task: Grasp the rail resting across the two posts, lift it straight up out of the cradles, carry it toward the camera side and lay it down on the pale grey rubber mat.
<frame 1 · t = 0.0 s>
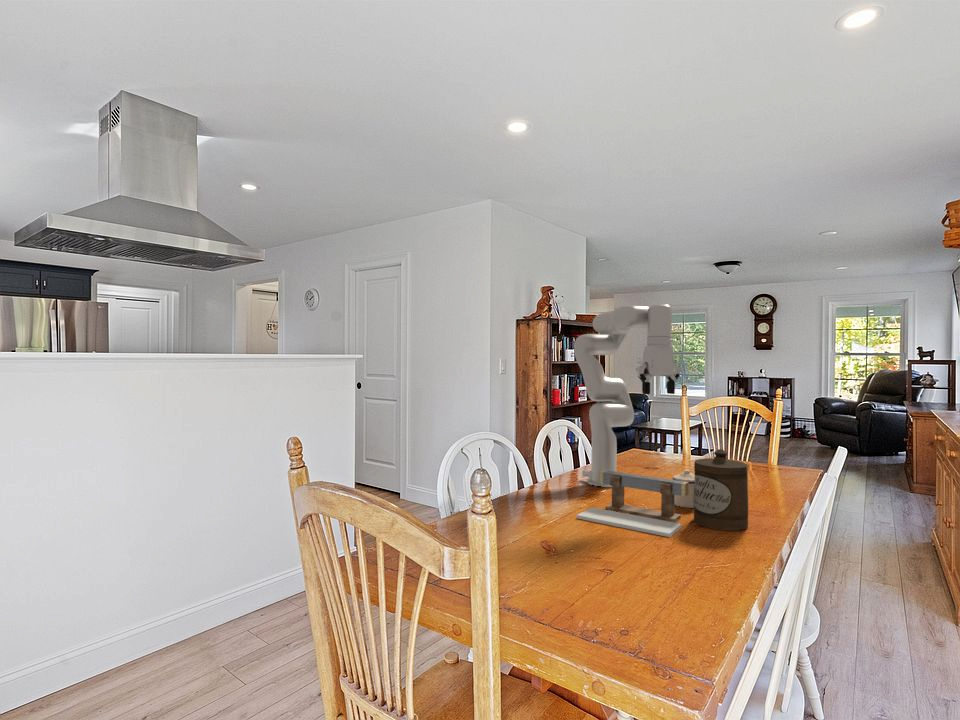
hand: (658, 393, 179), 37 cm above the table, tool pointing down, fingers open, 9 cm apart
wooden container: (720, 523, 161), on the table
rail: (642, 488, 170), point 8 cm above the table, touching rack
rack: (642, 513, 170), on the table
mat: (627, 522, 161), on the table
teacup with lid: (687, 504, 182), on the table
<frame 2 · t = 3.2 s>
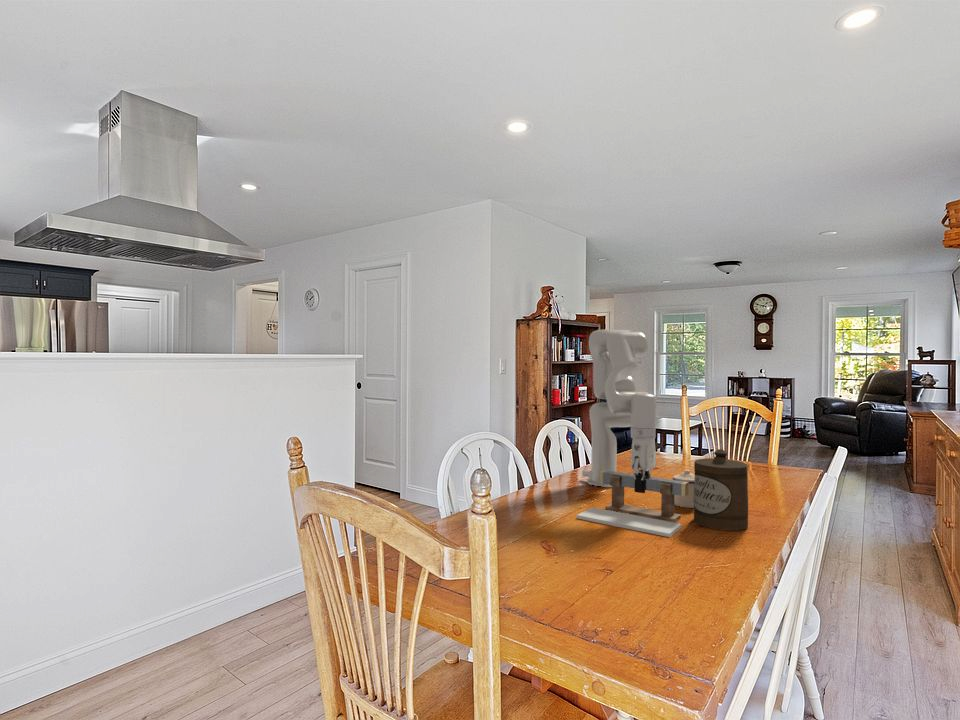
hand: (642, 490, 170), 7 cm above the table, tool pointing down, fingers closed on rail, 3 cm apart
rail: (642, 488, 170), point 8 cm above the table, touching gripper, rack
everything else where it was.
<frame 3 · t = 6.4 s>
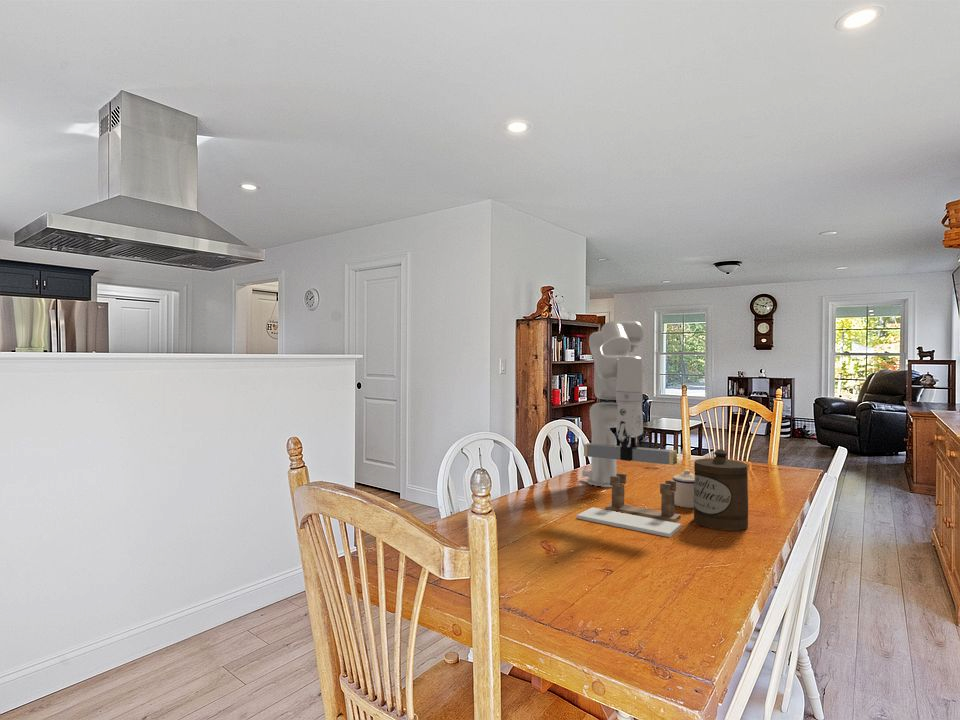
hand: (628, 458, 160), 19 cm above the table, tool pointing down, fingers closed on rail, 3 cm apart
rail: (628, 459, 160), point 19 cm above the table, touching gripper
everything else where it was.
when the fingers open (1 cm above the table, at t = 9.7 s): rail stays where it is, resting on mat.
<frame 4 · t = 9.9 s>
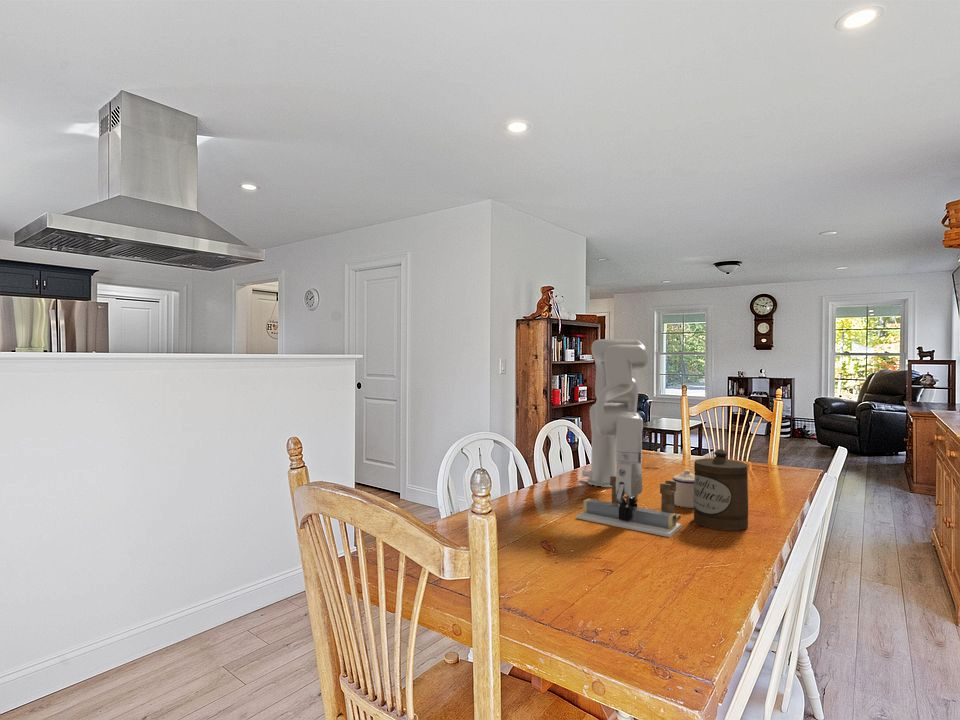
hand: (627, 517, 161), 2 cm above the table, tool pointing down, fingers open, 5 cm apart
rail: (627, 519, 161), point 1 cm above the table, touching mat
everything else where it was.
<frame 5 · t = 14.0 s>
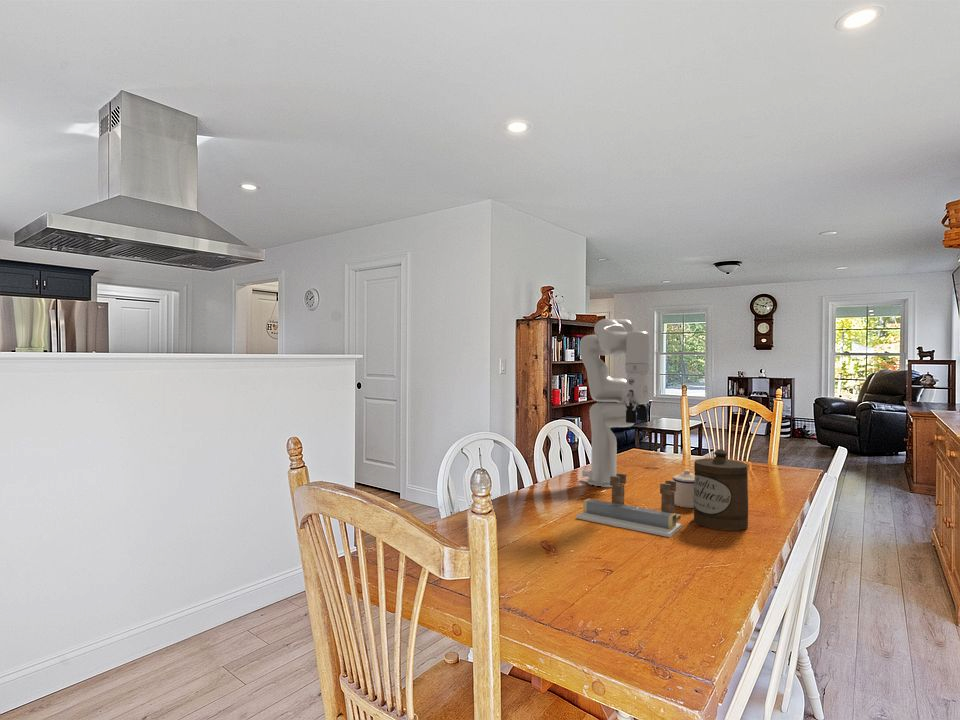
hand: (636, 421, 176), 28 cm above the table, tool pointing down, fingers open, 9 cm apart
nothing on the table moved.
at the end: rail inside the target area on the mat (0.1 cm from its centre), point 1.0 cm above the mat's base; rail point 1.0 cm above the table; the gripper is holding nothing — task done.
